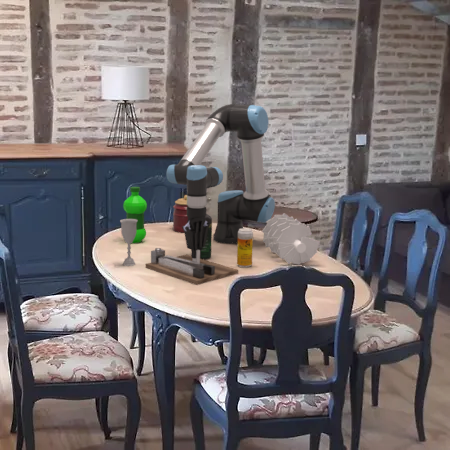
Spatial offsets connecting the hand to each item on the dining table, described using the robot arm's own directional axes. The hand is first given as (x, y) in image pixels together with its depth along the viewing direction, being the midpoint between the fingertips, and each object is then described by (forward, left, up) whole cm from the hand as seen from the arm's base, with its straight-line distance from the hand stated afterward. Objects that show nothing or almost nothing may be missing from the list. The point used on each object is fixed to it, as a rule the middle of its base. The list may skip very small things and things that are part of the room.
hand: (196, 265), depth 268 cm
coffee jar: (-18, -16, -3) cm, 24 cm away
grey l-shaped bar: (+5, -4, -2) cm, 7 cm away
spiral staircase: (-44, +10, -3) cm, 45 cm away
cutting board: (-1, -4, -3) cm, 5 cm away
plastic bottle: (-13, -55, -3) cm, 56 cm away
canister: (-46, -57, -3) cm, 73 cm away
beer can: (-22, +5, -3) cm, 23 cm away
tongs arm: (+2, -2, -1) cm, 3 cm away
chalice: (+12, -27, -3) cm, 29 cm away
